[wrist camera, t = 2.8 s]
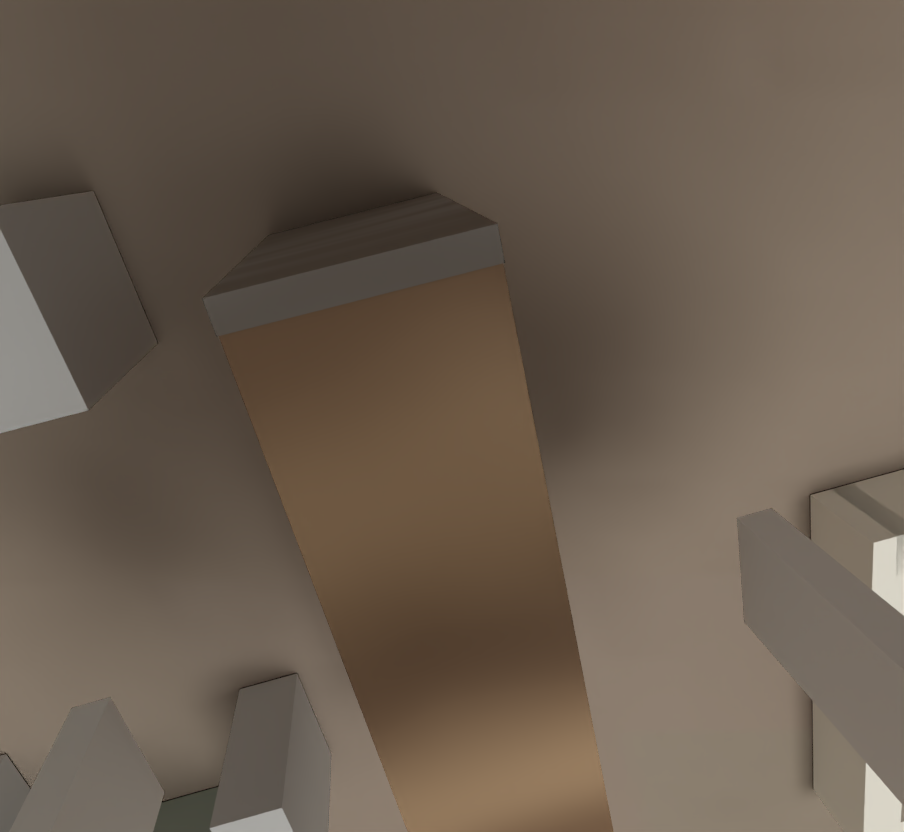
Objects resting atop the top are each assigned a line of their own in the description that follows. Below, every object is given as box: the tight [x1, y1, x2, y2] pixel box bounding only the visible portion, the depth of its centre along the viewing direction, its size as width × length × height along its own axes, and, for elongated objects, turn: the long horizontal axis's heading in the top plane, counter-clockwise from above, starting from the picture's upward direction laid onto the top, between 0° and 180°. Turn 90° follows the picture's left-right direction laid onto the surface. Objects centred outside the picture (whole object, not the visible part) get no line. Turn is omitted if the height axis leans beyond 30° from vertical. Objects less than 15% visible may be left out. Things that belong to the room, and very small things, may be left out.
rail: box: [202, 193, 613, 832], centre depth 17 cm, size 16×4×8 cm, turn 13°
